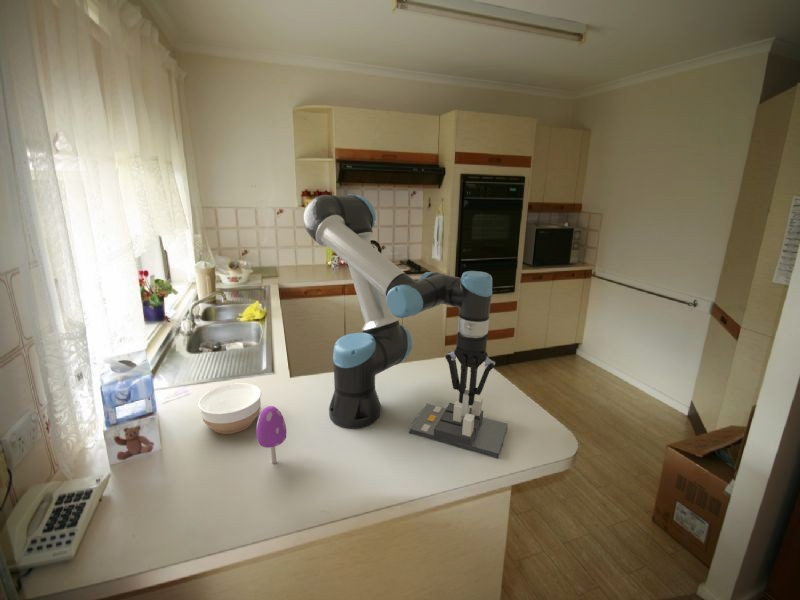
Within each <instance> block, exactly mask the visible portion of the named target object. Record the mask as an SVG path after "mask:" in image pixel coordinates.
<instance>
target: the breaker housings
mask: <svg viewBox="0 0 800 600" xmlns="http://www.w3.org/2000/svg"><path fill="white" fill-rule="evenodd" d="M483 399H484V397H483V396H480V395H477V394H475V398H474V403H473V405H472V406H471V407H470V410H469V414H467V413H466V415H465V417H463V419H462V421H461V422H457V421H453V412H454V405H455V403H453V402H449V403H448V405H447V406H446V407H445V408H446V410H445V411H444V413H443V415H442V416H441V418H440V421H438V423H437V425H436V426H435V428H434V436H437V437H441V438H444V439H448V440H451V441H455V442H458V443H462V444H465V445H469V446H471V444H472V442H473V440H474V437H475V435H476V432H477V430H478V428H479V425H480V423H481V420H482V418H483V417H484V410H482V409H483V402H484V401H483Z"/></svg>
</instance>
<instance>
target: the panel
mask: <svg viewBox="0 0 800 600" xmlns="http://www.w3.org/2000/svg"><path fill="white" fill-rule="evenodd" d="M446 408H447V407H443V406H439V405H435V404H431V403H426V404H425V405H424V407H423V408H422V410H421V411H420V413H419V414H417V416H416V418H415V420H414V421H412V422H413V423H412V424H411V425H410V427H409V428H408V433H409V434H412V435H414V436H418V437H421V438H424V439H428V440H431V441H434V442H438V443H442V444H445V445H448V446H453V447H456V448H459V449H462V450H467V451H469V452H474V453H477V454H481V455H484V456H487V457H490V458H495V459H499V457H500V454H501V451H502V447H503V443H504V440H505V437H506V434H507V430H508V425H509V424H508V422H503V421H500V420H497V419H493V418H492V419H491V418H487V417H484V416H483V418H482V420H481V423H480V425H479V428H478V430H477V432H476V435H475V437H474V440H473V442H472V444H471V446H469V445H465V444H462V443H458V442H455V441H451V440H448V439H444V438H441V437H437V436H434V428H435V426H436V425H437V423H438V421H440V418H441V416H442V415H443V413H444V411H445V410H446Z"/></svg>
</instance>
